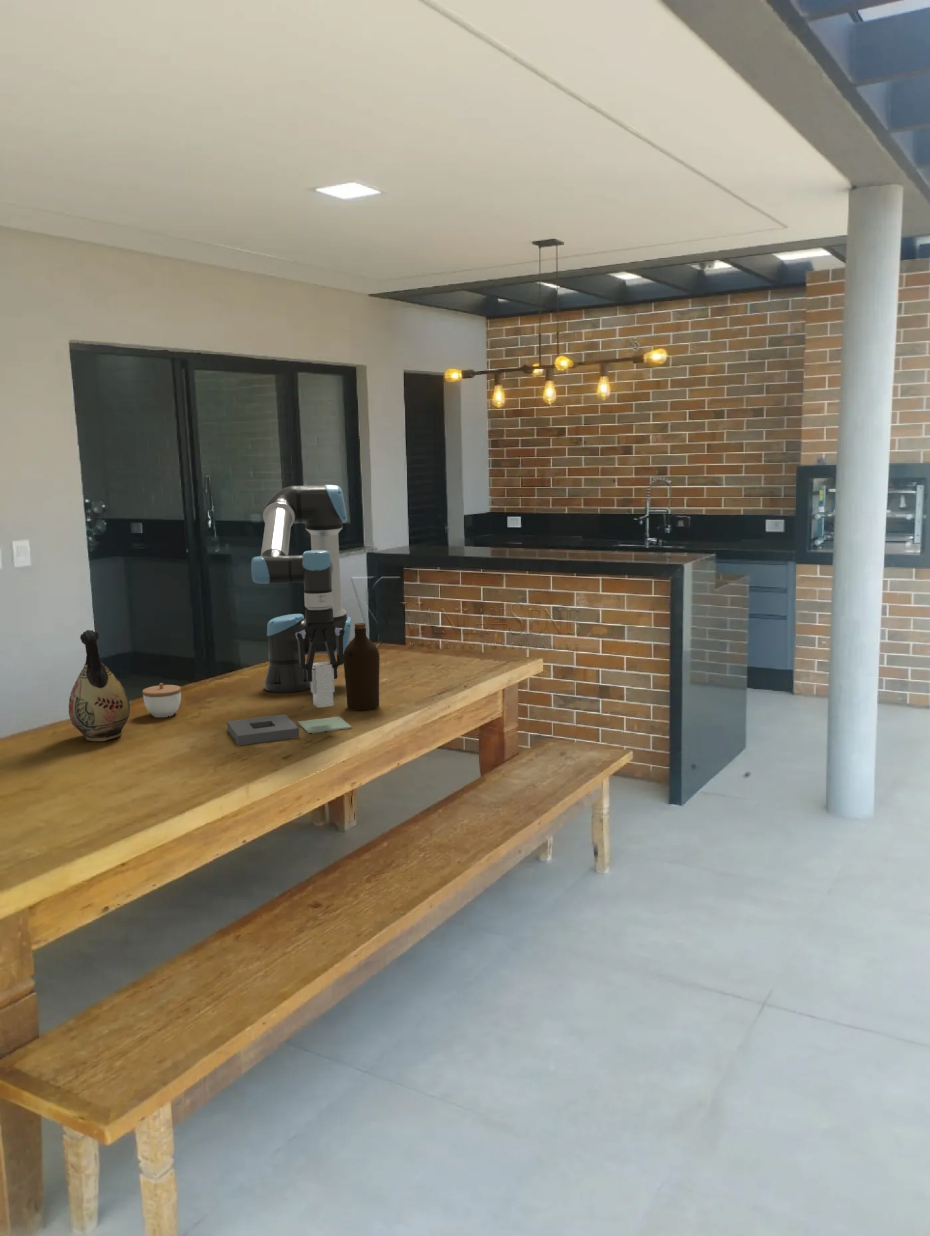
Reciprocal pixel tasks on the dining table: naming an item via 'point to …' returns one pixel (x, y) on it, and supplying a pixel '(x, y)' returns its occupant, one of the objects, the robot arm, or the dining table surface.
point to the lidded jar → (162, 699)
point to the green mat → (324, 725)
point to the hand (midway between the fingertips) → (322, 691)
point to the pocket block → (262, 729)
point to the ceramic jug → (97, 697)
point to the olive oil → (361, 671)
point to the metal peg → (323, 684)
